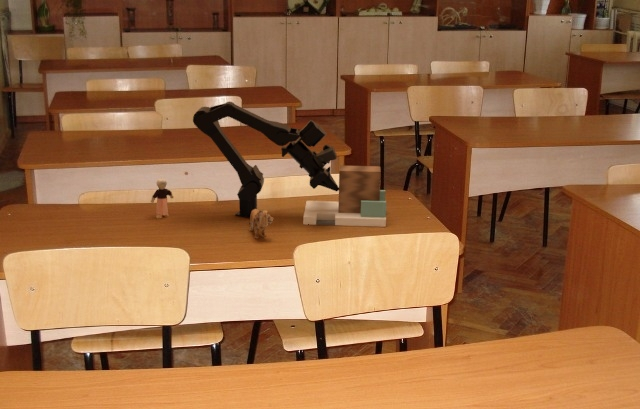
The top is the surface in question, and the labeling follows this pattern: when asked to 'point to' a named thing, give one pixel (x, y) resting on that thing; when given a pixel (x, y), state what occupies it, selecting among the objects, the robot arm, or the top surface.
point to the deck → (328, 213)
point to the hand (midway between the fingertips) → (338, 190)
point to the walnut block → (358, 187)
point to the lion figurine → (259, 221)
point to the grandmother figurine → (161, 198)
